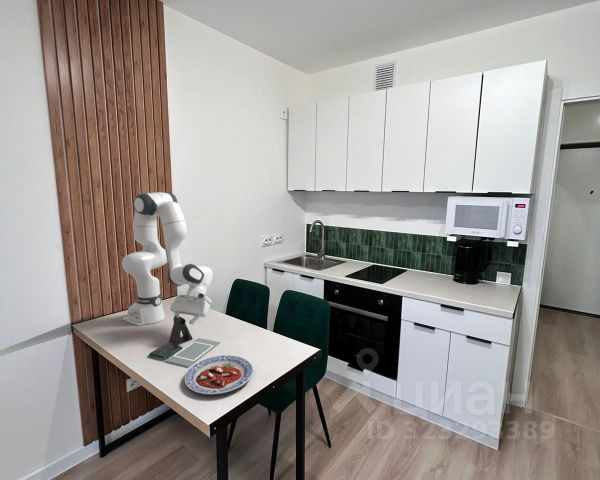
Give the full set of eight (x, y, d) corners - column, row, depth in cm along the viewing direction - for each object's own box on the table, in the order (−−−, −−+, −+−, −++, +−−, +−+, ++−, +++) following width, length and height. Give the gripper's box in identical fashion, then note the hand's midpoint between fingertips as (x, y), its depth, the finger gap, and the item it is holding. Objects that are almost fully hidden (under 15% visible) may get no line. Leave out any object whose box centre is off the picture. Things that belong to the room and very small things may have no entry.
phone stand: (174, 346, 152) (173, 321, 150) (168, 342, 156) (167, 318, 154) (192, 339, 159) (191, 316, 157) (186, 335, 163) (185, 312, 161)
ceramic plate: (219, 408, 110) (219, 400, 110) (170, 384, 124) (169, 377, 123) (266, 371, 132) (266, 364, 131) (220, 354, 145) (220, 347, 145)
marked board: (165, 361, 139) (165, 360, 139) (199, 339, 159) (198, 337, 159) (188, 367, 135) (188, 366, 134) (219, 343, 155) (219, 341, 155)
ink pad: (148, 356, 143) (147, 353, 143) (166, 345, 153) (166, 342, 153) (164, 360, 140) (164, 357, 139) (182, 348, 150) (182, 345, 150)
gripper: (174, 291, 166) (162, 317, 159) (208, 296, 159) (196, 323, 152) (181, 297, 171) (169, 322, 164) (214, 301, 164) (203, 328, 156)
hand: (182, 322), depth 158 cm, fingers open, 8 cm apart
